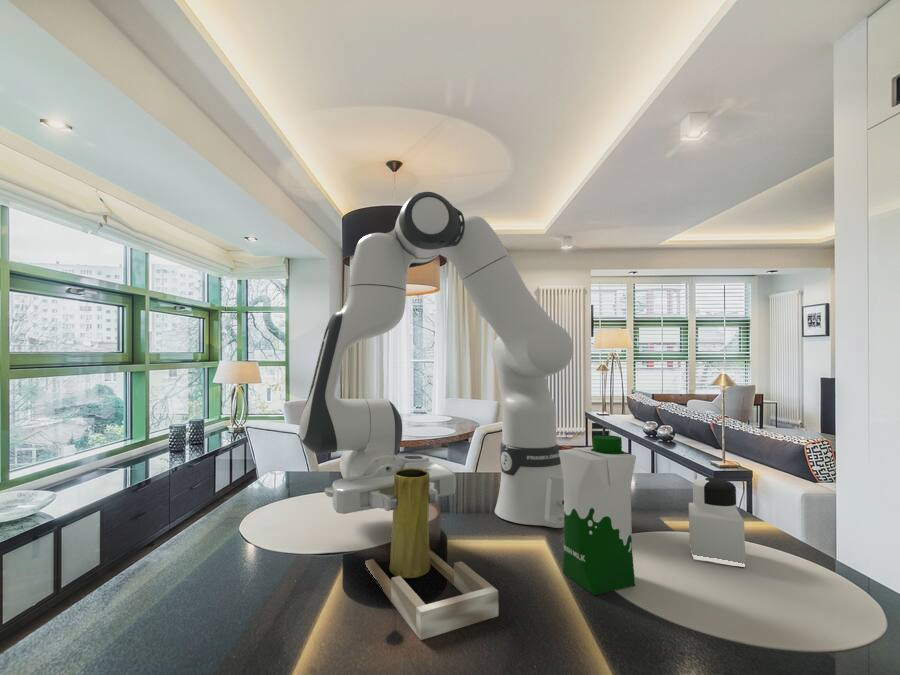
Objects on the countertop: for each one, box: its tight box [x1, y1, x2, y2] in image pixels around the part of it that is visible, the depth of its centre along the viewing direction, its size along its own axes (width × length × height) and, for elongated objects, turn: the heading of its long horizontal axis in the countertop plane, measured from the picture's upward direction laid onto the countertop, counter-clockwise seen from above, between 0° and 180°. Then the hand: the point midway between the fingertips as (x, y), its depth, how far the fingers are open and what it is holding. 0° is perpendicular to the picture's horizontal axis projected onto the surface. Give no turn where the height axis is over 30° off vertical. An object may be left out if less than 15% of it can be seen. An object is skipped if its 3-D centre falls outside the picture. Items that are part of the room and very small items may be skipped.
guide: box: [364, 548, 499, 641], centre depth 61 cm, size 10×20×3 cm, turn 28°
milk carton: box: [559, 434, 637, 596], centre depth 65 cm, size 9×9×20 cm
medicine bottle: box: [688, 476, 746, 564], centre depth 73 cm, size 7×7×12 cm
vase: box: [388, 468, 431, 579], centre depth 67 cm, size 6×6×14 cm
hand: (413, 501), depth 67 cm, fingers open, 5 cm apart
